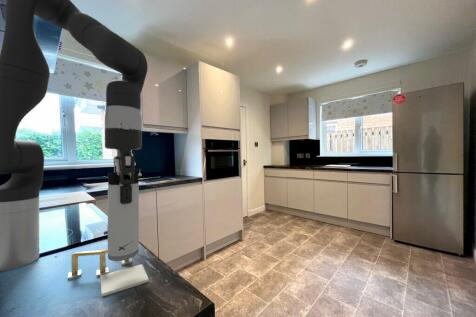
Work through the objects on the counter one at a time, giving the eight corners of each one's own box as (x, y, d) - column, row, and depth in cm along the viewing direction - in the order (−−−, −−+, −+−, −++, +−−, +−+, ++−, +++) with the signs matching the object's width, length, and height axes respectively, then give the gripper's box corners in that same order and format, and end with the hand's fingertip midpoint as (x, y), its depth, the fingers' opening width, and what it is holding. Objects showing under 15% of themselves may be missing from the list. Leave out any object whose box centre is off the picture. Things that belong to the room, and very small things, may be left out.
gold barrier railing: (66, 285, 45) (66, 260, 45) (68, 275, 49) (68, 252, 49) (133, 267, 53) (133, 245, 53) (130, 259, 57) (130, 239, 57)
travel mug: (126, 263, 44) (127, 170, 44) (100, 260, 45) (100, 169, 45) (145, 250, 50) (145, 168, 50) (122, 247, 51) (122, 168, 51)
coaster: (101, 296, 42) (101, 294, 42) (100, 278, 48) (100, 275, 48) (148, 281, 47) (148, 279, 47) (141, 266, 54) (141, 264, 54)
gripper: (103, 130, 51) (103, 197, 51) (106, 122, 40) (106, 209, 40) (136, 132, 56) (136, 194, 56) (148, 126, 44) (148, 204, 44)
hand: (124, 200), depth 48 cm, fingers closed on travel mug, 6 cm apart
